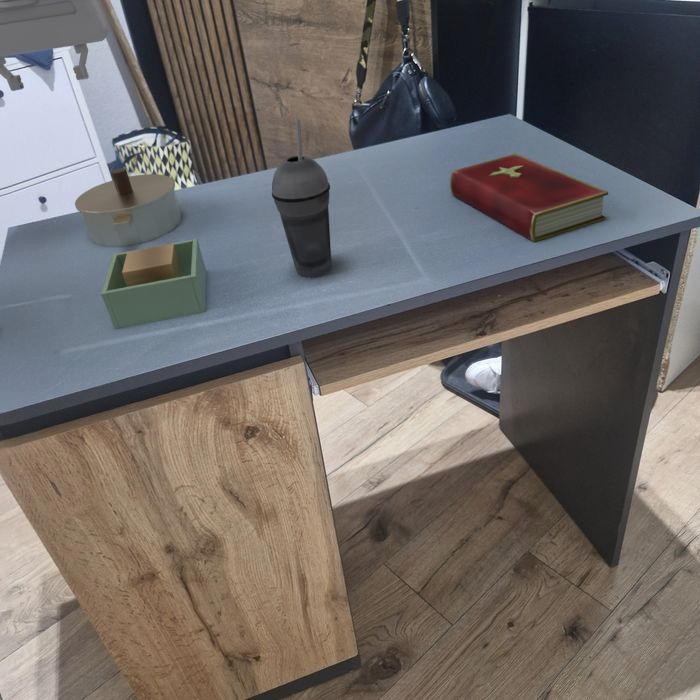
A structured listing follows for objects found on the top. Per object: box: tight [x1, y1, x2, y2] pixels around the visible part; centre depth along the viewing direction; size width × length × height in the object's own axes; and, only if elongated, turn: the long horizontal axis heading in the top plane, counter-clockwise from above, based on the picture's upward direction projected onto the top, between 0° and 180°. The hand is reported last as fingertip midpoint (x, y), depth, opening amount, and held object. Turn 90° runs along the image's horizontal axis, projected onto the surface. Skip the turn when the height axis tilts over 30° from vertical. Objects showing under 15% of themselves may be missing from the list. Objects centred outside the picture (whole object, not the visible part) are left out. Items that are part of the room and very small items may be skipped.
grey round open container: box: [80, 189, 182, 248], centre depth 103 cm, size 15×20×6 cm
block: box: [122, 242, 184, 287], centre depth 82 cm, size 6×6×6 cm
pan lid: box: [74, 167, 176, 215], centre depth 101 cm, size 16×16×5 cm
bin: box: [100, 238, 207, 330], centre depth 82 cm, size 11×11×6 cm
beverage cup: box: [271, 119, 332, 279], centre depth 79 cm, size 7×7×20 cm
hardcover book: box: [449, 153, 609, 243], centre depth 93 cm, size 12×21×4 cm, turn 23°
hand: (50, 84), depth 94 cm, fingers open, 8 cm apart
